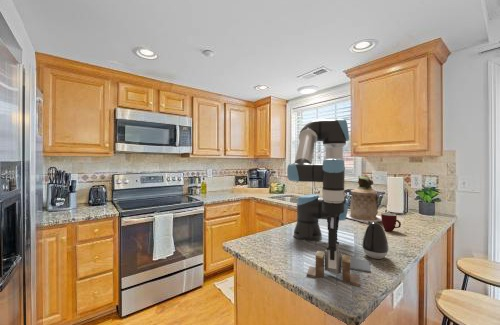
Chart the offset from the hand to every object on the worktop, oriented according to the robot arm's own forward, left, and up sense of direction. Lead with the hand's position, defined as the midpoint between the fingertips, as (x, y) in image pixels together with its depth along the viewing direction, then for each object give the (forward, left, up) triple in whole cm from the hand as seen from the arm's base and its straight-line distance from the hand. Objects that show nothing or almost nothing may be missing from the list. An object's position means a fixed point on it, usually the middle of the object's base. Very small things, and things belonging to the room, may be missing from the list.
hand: (332, 264), depth 85 cm
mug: (+29, +75, -4) cm, 80 cm away
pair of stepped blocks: (0, 0, -4) cm, 4 cm away
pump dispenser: (+16, +27, -4) cm, 31 cm away
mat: (+7, +14, -4) cm, 16 cm away
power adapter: (0, 0, -3) cm, 3 cm away
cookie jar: (+16, +104, -5) cm, 105 cm away
